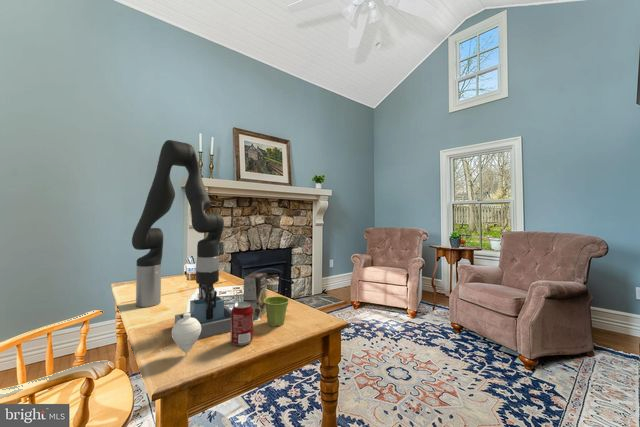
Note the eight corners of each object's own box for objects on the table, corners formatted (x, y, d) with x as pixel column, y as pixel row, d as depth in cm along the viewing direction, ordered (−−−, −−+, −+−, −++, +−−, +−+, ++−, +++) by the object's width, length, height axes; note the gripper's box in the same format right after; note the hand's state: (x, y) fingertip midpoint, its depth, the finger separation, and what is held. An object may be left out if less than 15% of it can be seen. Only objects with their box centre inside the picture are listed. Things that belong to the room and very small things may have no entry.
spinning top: (195, 362, 76) (195, 318, 76) (166, 363, 75) (166, 319, 75) (204, 348, 83) (205, 308, 83) (178, 349, 83) (178, 309, 83)
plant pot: (273, 316, 110) (273, 294, 110) (293, 321, 106) (293, 298, 105) (257, 325, 101) (258, 301, 101) (279, 330, 97) (279, 305, 97)
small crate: (189, 320, 98) (190, 300, 98) (218, 314, 104) (219, 295, 104) (193, 326, 93) (194, 305, 93) (223, 319, 99) (224, 300, 99)
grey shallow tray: (174, 326, 99) (174, 314, 99) (225, 315, 110) (225, 305, 110) (183, 342, 87) (183, 329, 87) (239, 328, 98) (239, 317, 98)
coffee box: (257, 320, 106) (258, 277, 106) (242, 318, 107) (243, 276, 107) (267, 311, 115) (267, 272, 115) (252, 310, 116) (253, 271, 116)
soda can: (253, 345, 86) (253, 307, 86) (230, 348, 84) (230, 308, 84) (252, 336, 92) (252, 300, 92) (230, 338, 90) (231, 301, 90)
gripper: (191, 266, 102) (190, 312, 102) (201, 274, 90) (201, 325, 90) (212, 264, 106) (211, 308, 106) (224, 271, 95) (224, 320, 95)
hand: (206, 315), depth 98 cm, fingers closed on small crate, 6 cm apart
